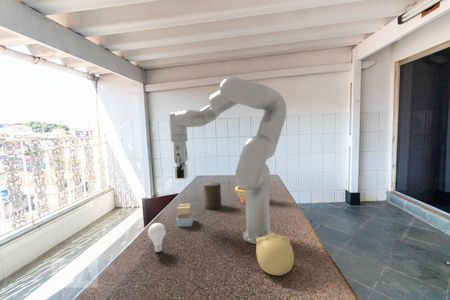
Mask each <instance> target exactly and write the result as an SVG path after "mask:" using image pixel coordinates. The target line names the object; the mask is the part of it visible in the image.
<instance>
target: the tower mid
mask: <svg viewBox="0 0 450 300" xmlns="http://www.w3.org/2000/svg"><path fill="white" fill-rule="evenodd" d="M176 211H177V213H176V214H177V215H176V216H177V217H178V219H181V218H191V214H192V213H193V212H192V211H193V210H192V203H179V204H178V206H177V207H176Z"/></svg>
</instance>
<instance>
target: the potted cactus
mask: <svg viewBox="0 0 450 300" xmlns="http://www.w3.org/2000/svg"><path fill="white" fill-rule="evenodd" d="M234 190H235V193H236V194H237V196H238V198H239V199H240V202H241V203H244V204H246V203H245V190H244V189H242V188H240V187H239V186H238V185H237V186H235V188H234Z"/></svg>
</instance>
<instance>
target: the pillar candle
mask: <svg viewBox="0 0 450 300" xmlns="http://www.w3.org/2000/svg"><path fill="white" fill-rule="evenodd" d="M221 191H222V189H221V182H219V181H210V182H205V183H203V193H204V194H203V197H204V209H207V210H212V211H213V210H219V209H220V208H222V192H221Z"/></svg>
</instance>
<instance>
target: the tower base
mask: <svg viewBox="0 0 450 300" xmlns="http://www.w3.org/2000/svg"><path fill="white" fill-rule="evenodd" d="M175 220H176V221H175V222H176V227H177V228H178V227H181V228H182V227H192V226H193V222H194V213H193V212H192V214H191V218H181V219H178V216H177V217H176V219H175Z"/></svg>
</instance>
